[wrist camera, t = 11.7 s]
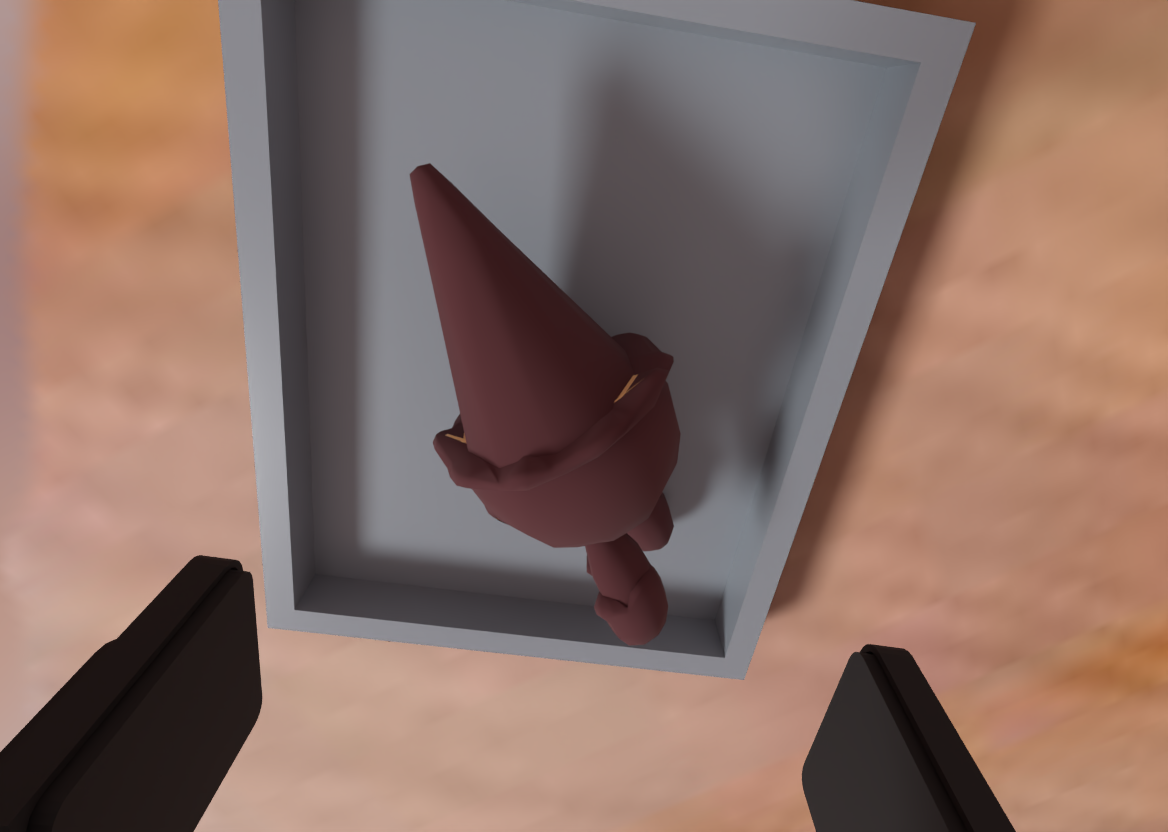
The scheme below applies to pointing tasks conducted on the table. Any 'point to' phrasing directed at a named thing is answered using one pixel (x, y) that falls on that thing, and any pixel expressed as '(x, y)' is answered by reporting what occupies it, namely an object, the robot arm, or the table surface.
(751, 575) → the serving tray
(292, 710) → the table surface
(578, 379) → the icecream
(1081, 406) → the table surface
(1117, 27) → the table surface
